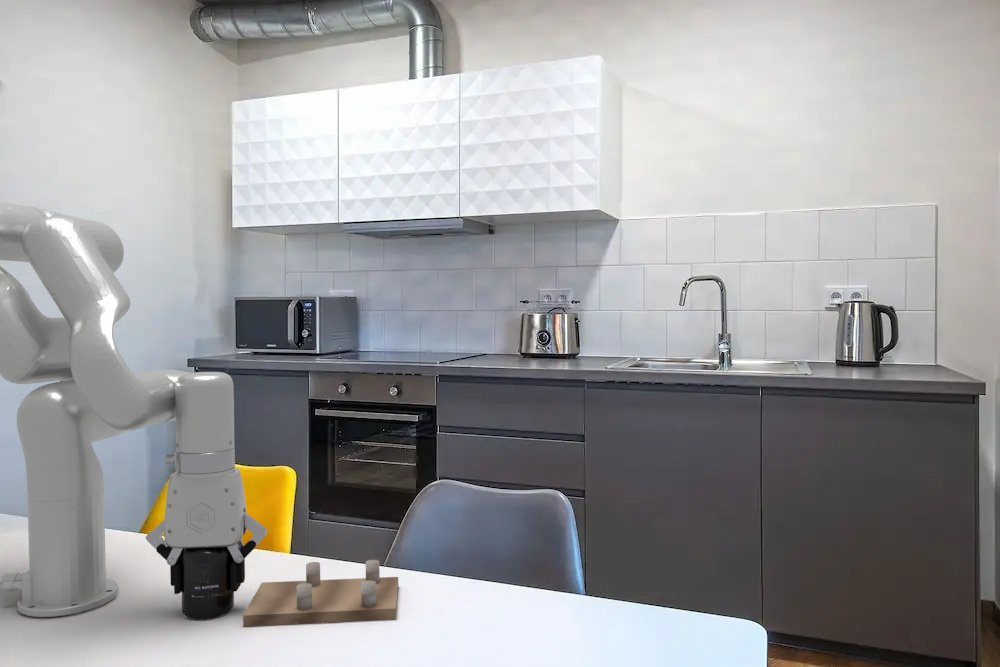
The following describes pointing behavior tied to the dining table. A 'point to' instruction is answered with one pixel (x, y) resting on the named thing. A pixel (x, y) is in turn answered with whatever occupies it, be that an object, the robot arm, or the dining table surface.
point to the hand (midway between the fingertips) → (208, 588)
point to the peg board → (324, 599)
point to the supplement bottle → (206, 582)
